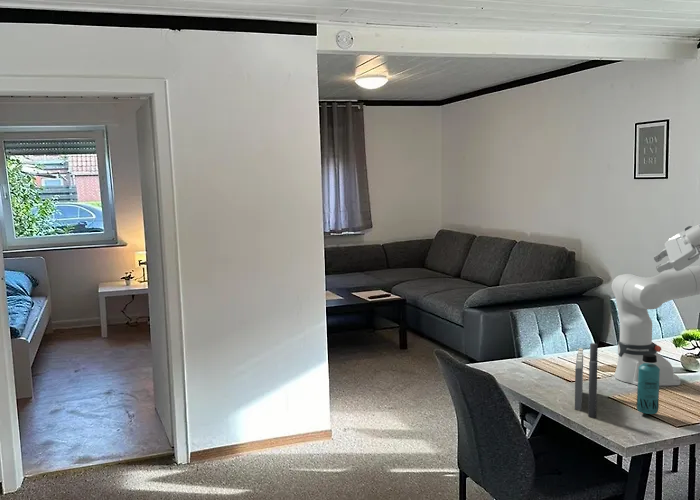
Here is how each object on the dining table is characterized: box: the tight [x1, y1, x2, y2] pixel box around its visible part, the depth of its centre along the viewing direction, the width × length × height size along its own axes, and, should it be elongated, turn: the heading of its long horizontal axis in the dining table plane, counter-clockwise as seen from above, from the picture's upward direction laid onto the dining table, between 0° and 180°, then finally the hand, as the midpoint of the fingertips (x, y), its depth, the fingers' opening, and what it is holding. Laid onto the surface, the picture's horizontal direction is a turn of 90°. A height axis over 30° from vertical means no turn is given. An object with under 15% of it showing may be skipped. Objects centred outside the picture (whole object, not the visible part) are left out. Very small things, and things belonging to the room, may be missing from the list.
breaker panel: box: [574, 347, 584, 411], centre depth 214 cm, size 2×18×16 cm, turn 158°
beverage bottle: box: [636, 354, 661, 415], centre depth 200 cm, size 6×7×20 cm
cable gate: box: [587, 342, 599, 419], centre depth 210 cm, size 2×24×18 cm, turn 158°
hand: (656, 264), depth 198 cm, fingers open, 8 cm apart
